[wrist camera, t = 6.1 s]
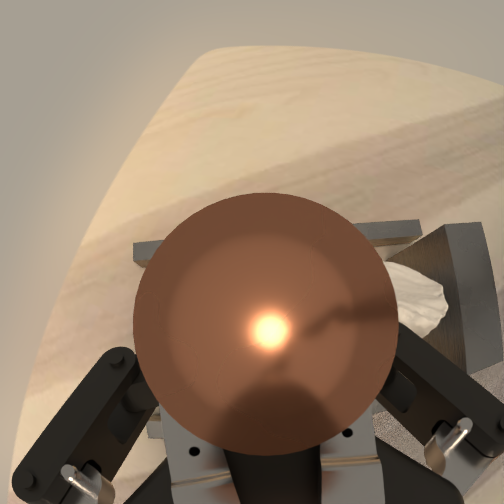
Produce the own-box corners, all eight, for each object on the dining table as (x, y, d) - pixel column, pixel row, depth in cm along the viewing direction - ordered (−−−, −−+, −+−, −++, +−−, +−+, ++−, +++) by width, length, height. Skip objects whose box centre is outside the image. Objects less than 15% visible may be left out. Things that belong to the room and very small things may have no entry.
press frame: (412, 227, 23) (469, 184, 16) (434, 388, 20) (503, 399, 12) (141, 251, 22) (96, 207, 14) (156, 430, 19) (114, 471, 11)
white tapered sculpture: (466, 214, 11) (500, 350, 9) (365, 274, 22) (383, 349, 21) (334, 240, 10) (372, 410, 9) (285, 292, 22) (303, 373, 20)
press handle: (279, 271, 22) (371, 92, 5) (292, 389, 20) (432, 515, 3) (205, 278, 22) (110, 108, 5) (216, 397, 20) (140, 557, 3)
